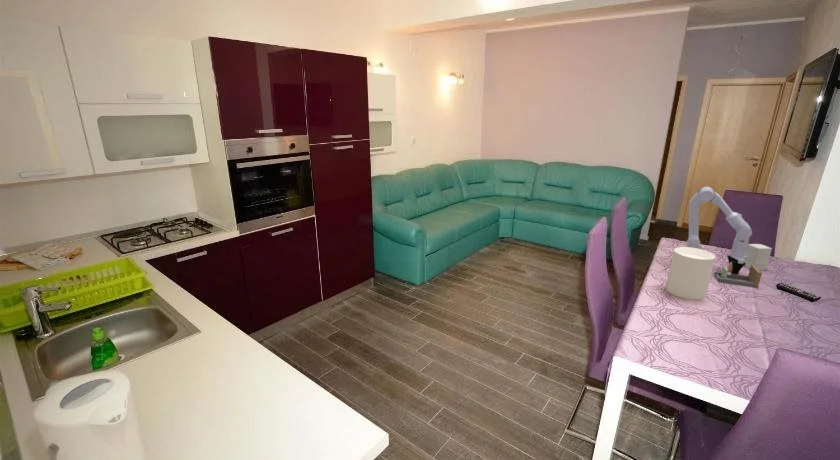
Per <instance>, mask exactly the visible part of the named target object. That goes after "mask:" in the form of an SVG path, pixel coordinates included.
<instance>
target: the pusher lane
mask: <svg viewBox="0 0 840 460" xmlns="http://www.w3.org/2000/svg"><path fill="white" fill-rule="evenodd" d="M713 275H714V277H715V278H716V281H717V282H718V283H722V284H730V285H736V286H743V287H750V288H756V289H758V288H759V286H760V282H761V278H762V276H763V272H762V270H759V269H758V268H757V267H756V266H755V265H751V268H749V272H748V275H743V274H739V275H738V274H731V275H730V276H729V275H727V278H721V277H720V275H721V271H714V274H713Z"/></svg>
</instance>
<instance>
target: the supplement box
mask: <svg viewBox="0 0 840 460" xmlns="http://www.w3.org/2000/svg"><path fill="white" fill-rule="evenodd" d="M772 249H773V248H772V247H769V246H767V245H764V244H761V243H748V245H747V249H746V253H745V256H747V258H744V263H746V264H745V265H744V266H743V267H746V268H747V269H750V268H751V265H755V266H756V267H757V268H758V269H759V270H760V271H766V270H767V267H768V263H769V260H770V258H771V253H772Z"/></svg>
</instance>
